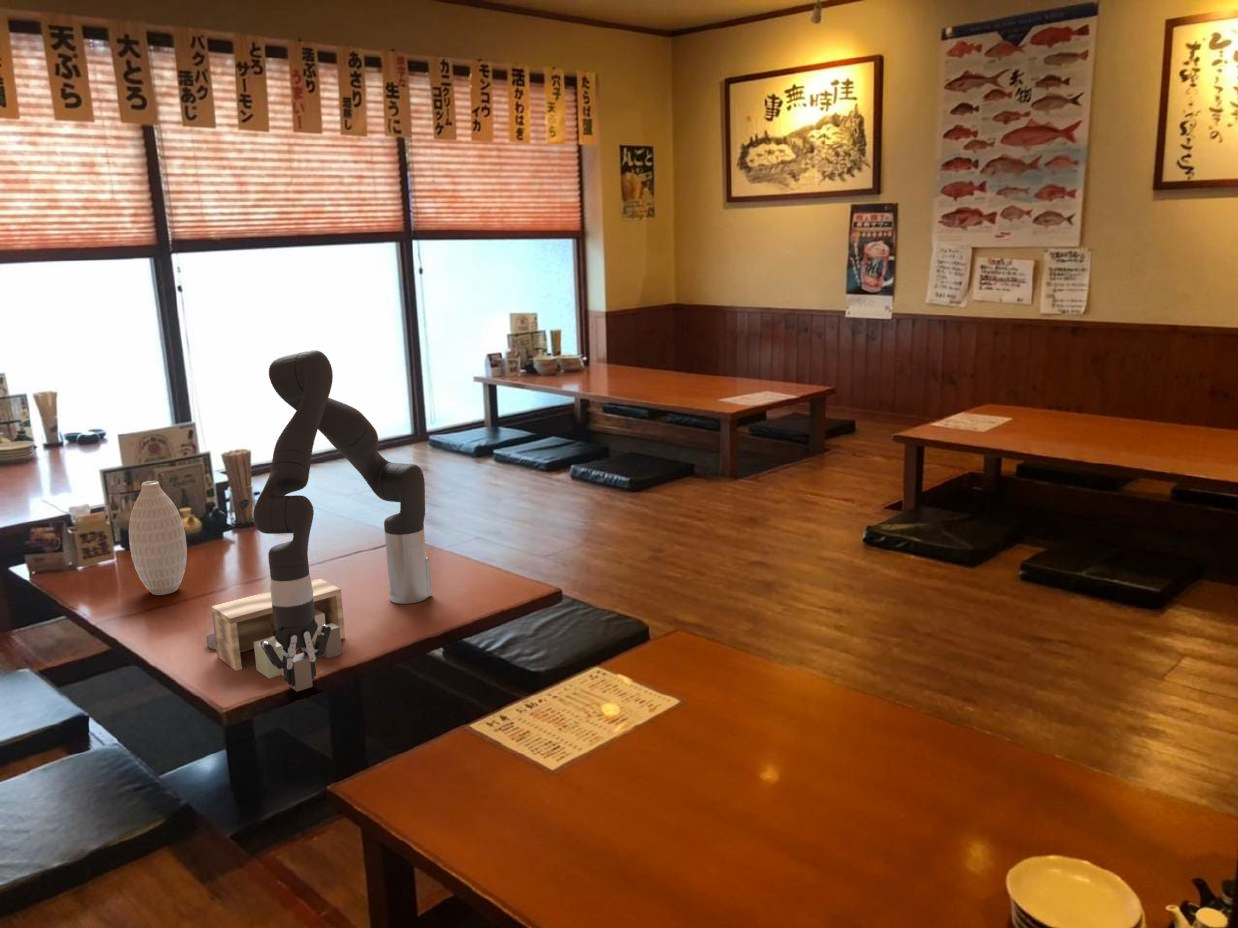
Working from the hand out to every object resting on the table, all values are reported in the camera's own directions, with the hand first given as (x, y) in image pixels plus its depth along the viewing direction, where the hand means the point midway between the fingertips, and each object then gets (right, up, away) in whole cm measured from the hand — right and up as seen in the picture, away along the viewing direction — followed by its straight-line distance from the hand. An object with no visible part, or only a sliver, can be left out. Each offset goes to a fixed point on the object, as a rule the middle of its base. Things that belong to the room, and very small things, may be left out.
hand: (300, 681), depth 191 cm
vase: (-53, +10, +58) cm, 79 cm away
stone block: (-22, +3, +25) cm, 34 cm away
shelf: (-10, +3, +20) cm, 23 cm away
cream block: (-3, +3, +20) cm, 20 cm away
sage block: (-4, 0, +5) cm, 6 cm away
